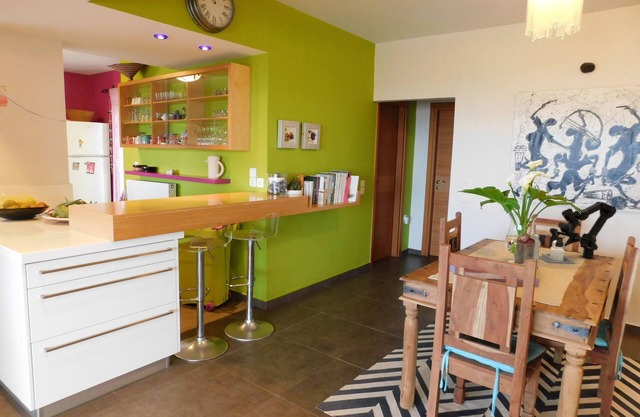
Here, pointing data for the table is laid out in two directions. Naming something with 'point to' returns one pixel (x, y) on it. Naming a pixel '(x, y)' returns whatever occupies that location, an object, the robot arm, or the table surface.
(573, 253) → the table surface
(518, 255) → the juice carton
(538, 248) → the plastic bottle
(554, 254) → the medicine bottle
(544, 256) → the bottle holder
